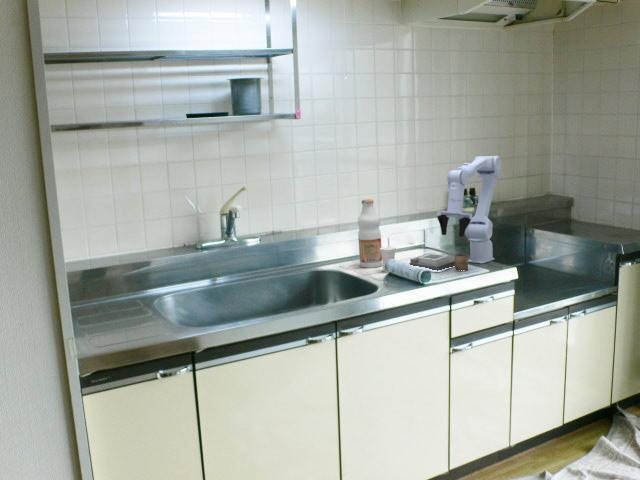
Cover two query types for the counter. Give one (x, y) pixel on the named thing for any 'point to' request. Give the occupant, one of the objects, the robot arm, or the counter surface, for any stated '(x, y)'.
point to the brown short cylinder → (461, 261)
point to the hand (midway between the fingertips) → (452, 235)
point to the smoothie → (387, 253)
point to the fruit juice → (369, 236)
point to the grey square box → (433, 261)
